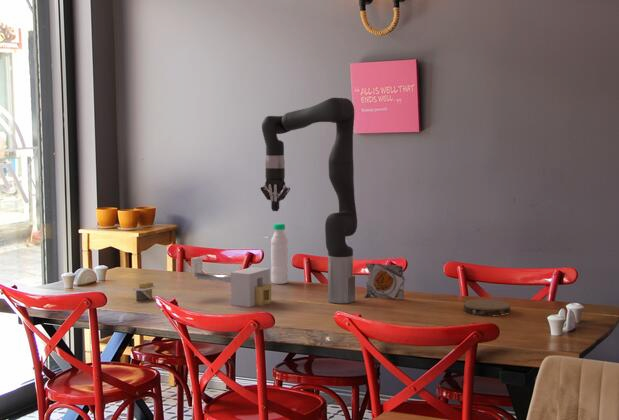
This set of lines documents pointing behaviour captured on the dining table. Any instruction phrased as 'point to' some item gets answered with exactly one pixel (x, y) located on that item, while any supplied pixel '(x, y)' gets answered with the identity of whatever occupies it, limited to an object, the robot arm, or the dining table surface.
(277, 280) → the water bottle
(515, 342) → the dining table surface
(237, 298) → the block
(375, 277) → the meal
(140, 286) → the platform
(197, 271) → the shaft
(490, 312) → the dark brown disc
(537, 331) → the dining table surface
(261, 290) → the spacer
